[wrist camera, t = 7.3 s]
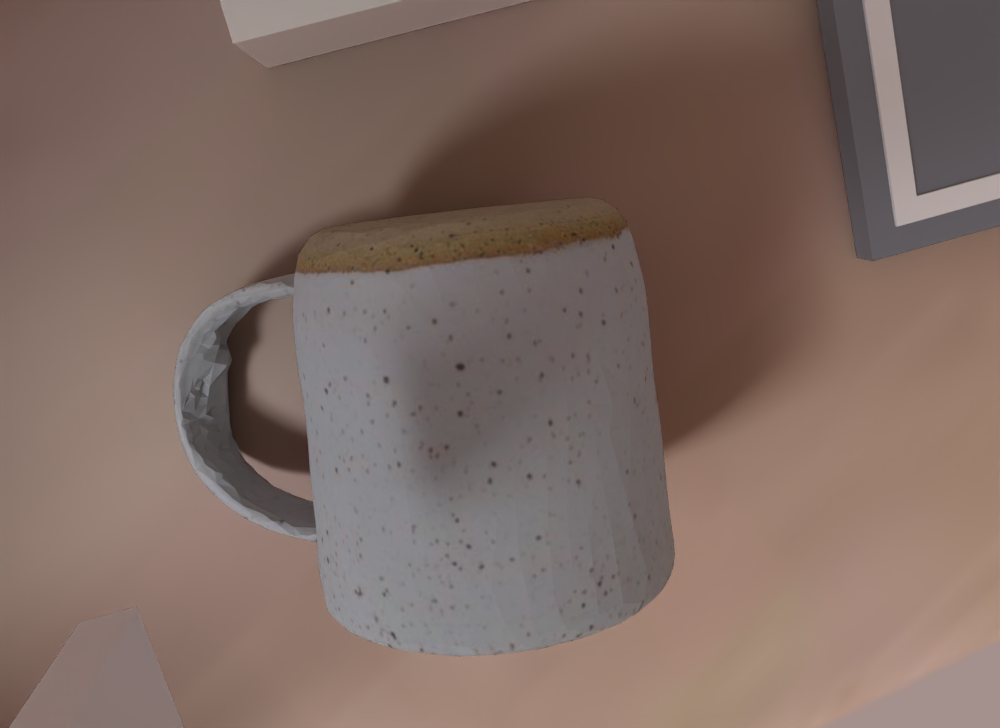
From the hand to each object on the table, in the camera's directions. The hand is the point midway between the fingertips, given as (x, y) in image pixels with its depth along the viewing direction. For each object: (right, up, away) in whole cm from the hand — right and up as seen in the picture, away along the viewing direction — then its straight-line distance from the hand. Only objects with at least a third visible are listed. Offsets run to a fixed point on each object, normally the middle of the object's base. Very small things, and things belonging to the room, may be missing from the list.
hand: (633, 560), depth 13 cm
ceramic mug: (-4, +2, +11) cm, 12 cm away
